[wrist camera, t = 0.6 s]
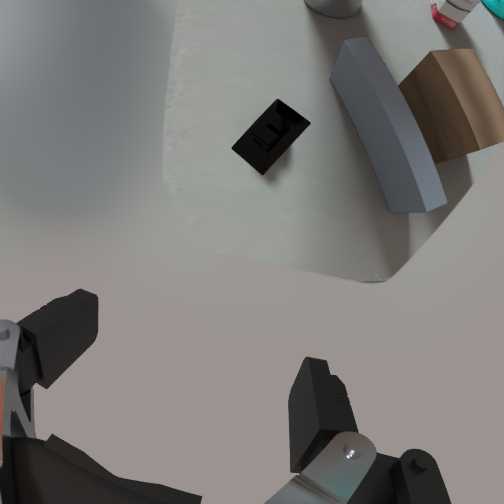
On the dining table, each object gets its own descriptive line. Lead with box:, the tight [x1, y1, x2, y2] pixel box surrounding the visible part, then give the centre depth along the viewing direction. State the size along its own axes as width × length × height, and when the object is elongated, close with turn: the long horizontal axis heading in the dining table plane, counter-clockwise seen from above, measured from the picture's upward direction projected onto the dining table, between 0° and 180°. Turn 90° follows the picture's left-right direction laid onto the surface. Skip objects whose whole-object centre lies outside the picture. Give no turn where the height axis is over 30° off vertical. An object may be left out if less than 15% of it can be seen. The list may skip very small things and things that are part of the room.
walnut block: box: [398, 49, 504, 164], centre depth 26 cm, size 8×12×12 cm, turn 22°
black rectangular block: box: [232, 99, 311, 175], centre depth 33 cm, size 12×7×5 cm, turn 139°
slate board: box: [330, 36, 447, 213], centre depth 29 cm, size 3×20×10 cm, turn 22°
